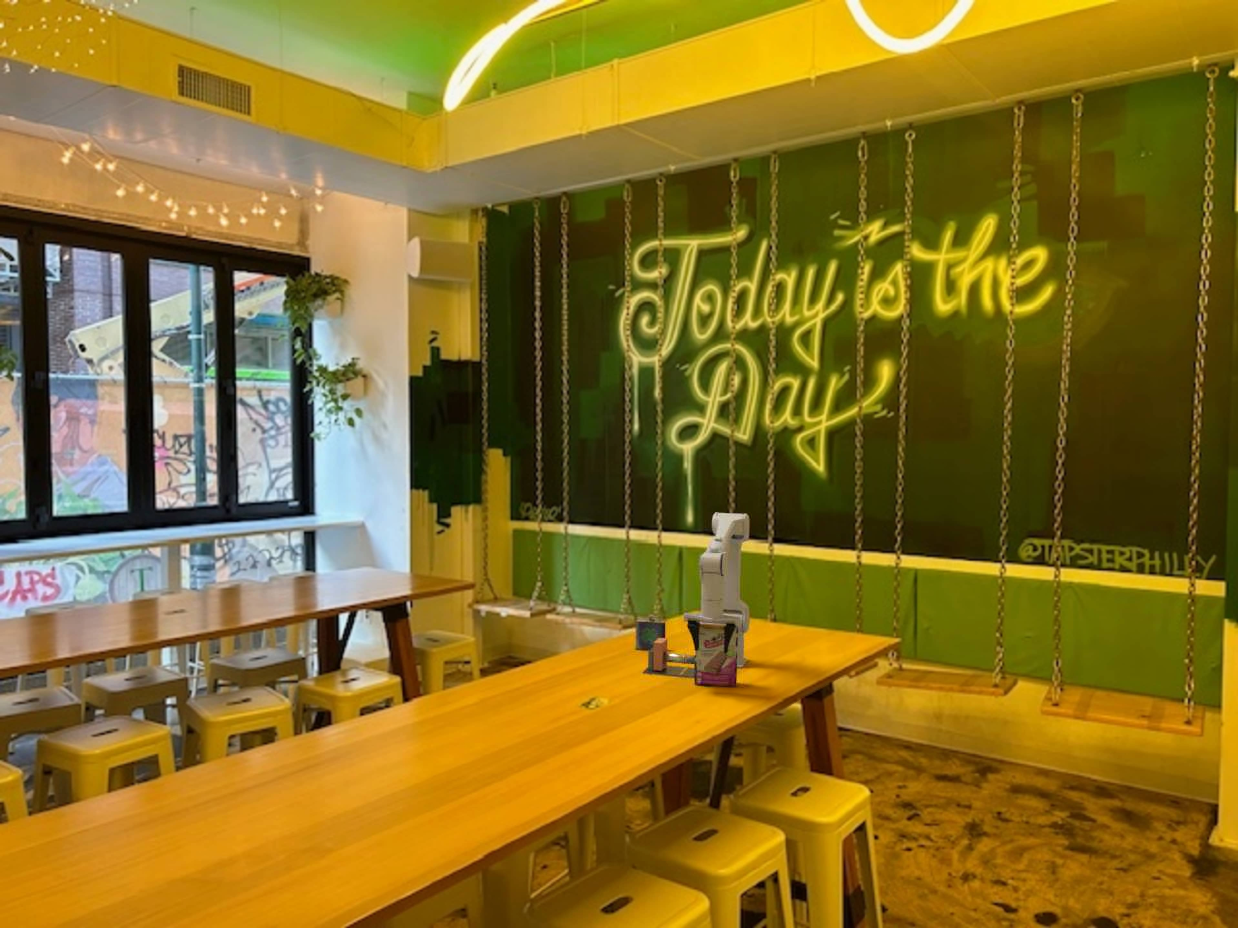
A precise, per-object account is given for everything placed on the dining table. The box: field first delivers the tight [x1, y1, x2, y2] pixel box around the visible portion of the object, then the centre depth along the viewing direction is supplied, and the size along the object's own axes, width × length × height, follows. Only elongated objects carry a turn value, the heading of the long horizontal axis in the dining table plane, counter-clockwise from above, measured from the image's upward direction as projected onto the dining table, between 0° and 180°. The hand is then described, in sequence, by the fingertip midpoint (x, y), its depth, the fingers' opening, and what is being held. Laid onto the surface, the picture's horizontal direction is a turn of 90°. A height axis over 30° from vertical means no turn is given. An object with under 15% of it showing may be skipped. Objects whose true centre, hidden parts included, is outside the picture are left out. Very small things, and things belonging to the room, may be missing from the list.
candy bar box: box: [694, 622, 738, 687], centre depth 246 cm, size 11×5×16 cm, turn 83°
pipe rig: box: [642, 648, 695, 679], centre depth 258 cm, size 9×16×6 cm, turn 73°
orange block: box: [653, 637, 668, 671], centre depth 259 cm, size 6×2×8 cm, turn 163°
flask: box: [635, 614, 666, 652], centre depth 282 cm, size 9×3×11 cm, turn 76°
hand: (711, 650), depth 240 cm, fingers open, 7 cm apart
